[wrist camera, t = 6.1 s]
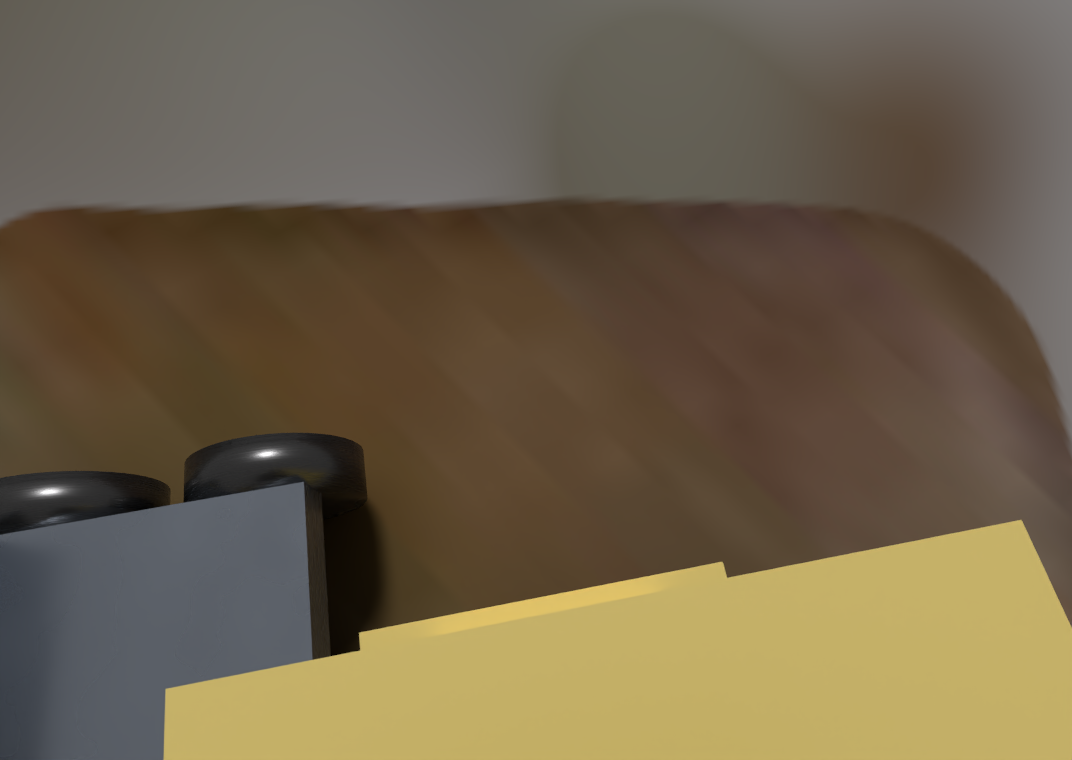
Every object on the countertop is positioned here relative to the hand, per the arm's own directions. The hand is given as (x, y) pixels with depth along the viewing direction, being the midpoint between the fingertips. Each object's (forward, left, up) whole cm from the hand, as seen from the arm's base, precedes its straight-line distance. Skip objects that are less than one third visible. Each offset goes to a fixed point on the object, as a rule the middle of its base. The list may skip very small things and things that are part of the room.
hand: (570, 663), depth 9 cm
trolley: (+5, +9, -11) cm, 15 cm away
